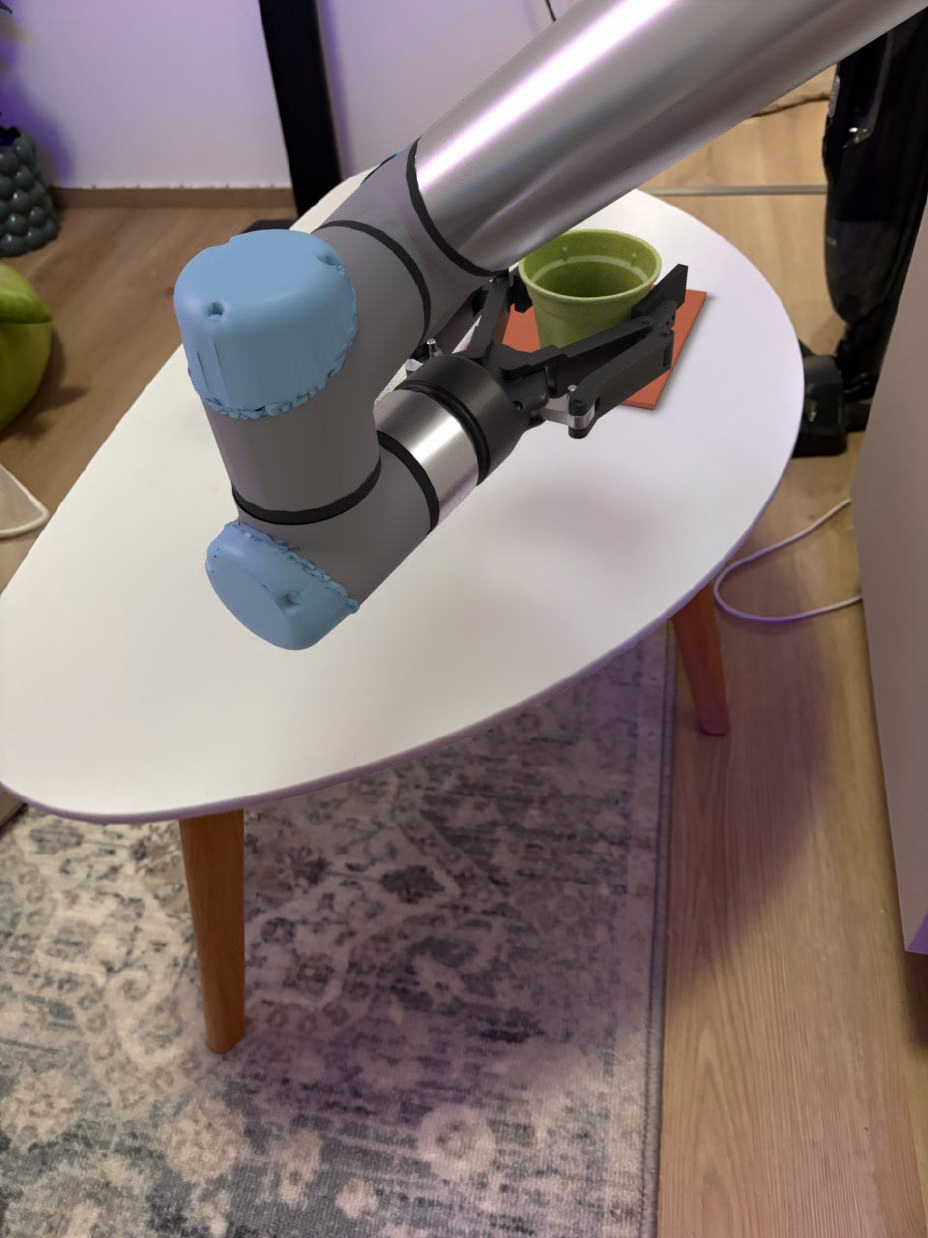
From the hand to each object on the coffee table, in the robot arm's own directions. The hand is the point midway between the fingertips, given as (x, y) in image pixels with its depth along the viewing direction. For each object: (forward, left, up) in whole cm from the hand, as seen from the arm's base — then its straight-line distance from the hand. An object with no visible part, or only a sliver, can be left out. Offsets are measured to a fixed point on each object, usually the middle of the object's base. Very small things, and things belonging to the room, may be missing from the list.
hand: (622, 267), depth 66 cm
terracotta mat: (+9, -19, -18) cm, 27 cm away
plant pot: (+1, +5, -6) cm, 8 cm away
